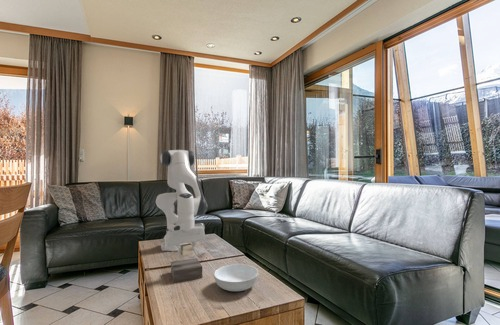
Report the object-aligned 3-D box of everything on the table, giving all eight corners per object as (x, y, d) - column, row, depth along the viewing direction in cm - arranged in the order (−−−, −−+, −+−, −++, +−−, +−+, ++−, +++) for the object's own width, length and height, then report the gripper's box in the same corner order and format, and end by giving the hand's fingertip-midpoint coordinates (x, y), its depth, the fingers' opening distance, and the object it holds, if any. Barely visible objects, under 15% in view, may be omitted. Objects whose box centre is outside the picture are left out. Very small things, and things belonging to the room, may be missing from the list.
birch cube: (180, 254, 141) (180, 244, 141) (189, 252, 143) (189, 242, 144) (183, 256, 137) (183, 246, 137) (192, 254, 139) (192, 245, 139)
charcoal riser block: (171, 273, 144) (171, 261, 144) (197, 269, 149) (197, 258, 149) (174, 283, 131) (174, 271, 131) (202, 278, 136) (202, 266, 136)
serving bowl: (207, 283, 130) (207, 269, 130) (245, 274, 140) (245, 261, 140) (225, 301, 112) (225, 285, 112) (267, 290, 122) (267, 274, 122)
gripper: (202, 221, 149) (202, 246, 148) (165, 226, 138) (165, 253, 137) (206, 223, 143) (207, 249, 143) (168, 228, 132) (168, 256, 132)
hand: (186, 251), depth 140 cm, fingers closed on birch cube, 5 cm apart
